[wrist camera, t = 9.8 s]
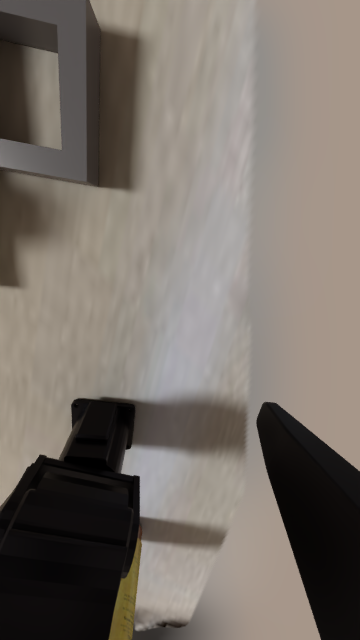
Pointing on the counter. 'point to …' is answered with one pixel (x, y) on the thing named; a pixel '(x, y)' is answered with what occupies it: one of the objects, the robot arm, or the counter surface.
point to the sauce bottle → (127, 599)
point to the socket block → (75, 86)
